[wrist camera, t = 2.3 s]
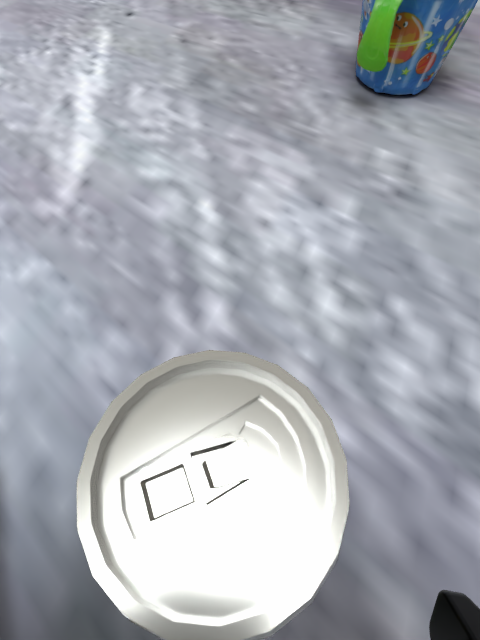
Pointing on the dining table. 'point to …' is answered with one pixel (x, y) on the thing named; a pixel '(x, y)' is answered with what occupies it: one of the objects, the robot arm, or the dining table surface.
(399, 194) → the dining table surface
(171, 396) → the beer can
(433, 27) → the snack cup
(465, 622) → the robot arm
